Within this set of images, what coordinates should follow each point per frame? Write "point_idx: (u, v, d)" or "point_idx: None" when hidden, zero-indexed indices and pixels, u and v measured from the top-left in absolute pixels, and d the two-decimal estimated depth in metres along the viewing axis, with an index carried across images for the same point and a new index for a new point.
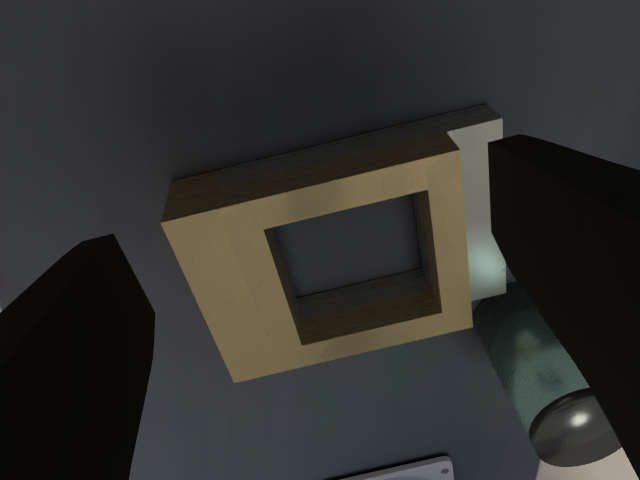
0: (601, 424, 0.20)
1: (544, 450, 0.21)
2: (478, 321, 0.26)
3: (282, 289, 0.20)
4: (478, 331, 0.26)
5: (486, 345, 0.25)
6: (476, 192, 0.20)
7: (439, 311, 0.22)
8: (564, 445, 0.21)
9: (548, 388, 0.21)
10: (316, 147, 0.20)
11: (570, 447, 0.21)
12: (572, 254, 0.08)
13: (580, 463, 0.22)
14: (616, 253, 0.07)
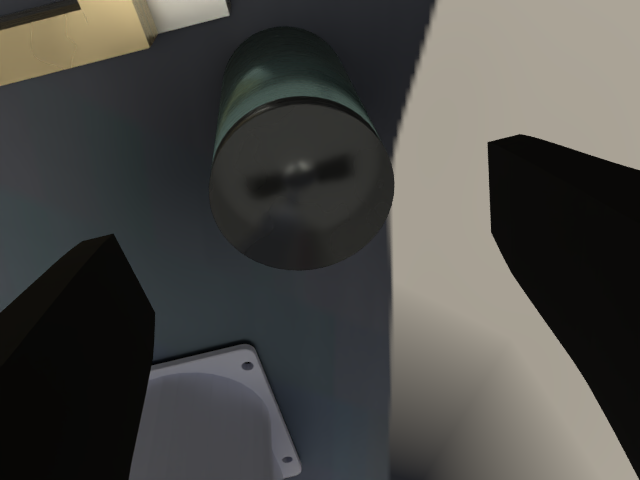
0: (321, 170, 0.11)
1: (234, 227, 0.12)
2: None
3: None
4: None
5: None
6: None
7: (79, 9, 0.13)
8: (269, 218, 0.12)
9: (235, 113, 0.12)
10: None
11: (282, 223, 0.12)
12: (572, 254, 0.08)
13: (315, 264, 0.13)
14: (616, 253, 0.07)
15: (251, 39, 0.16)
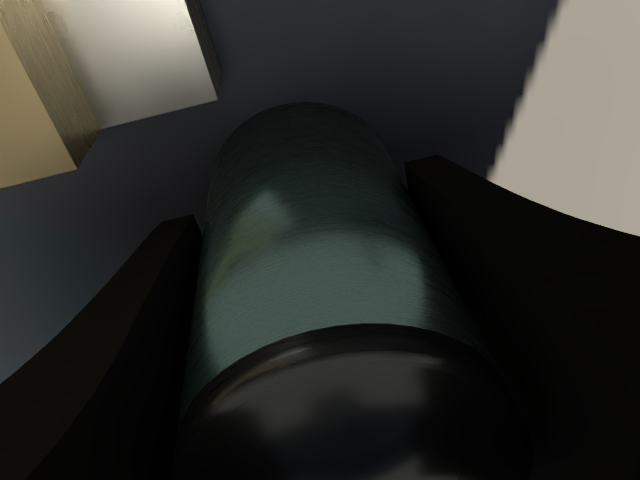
0: (395, 460, 0.06)
1: None
2: None
3: None
4: None
5: None
6: None
7: None
8: None
9: (223, 335, 0.06)
10: None
11: None
12: (467, 279, 0.08)
13: None
14: (492, 282, 0.07)
15: (253, 124, 0.10)
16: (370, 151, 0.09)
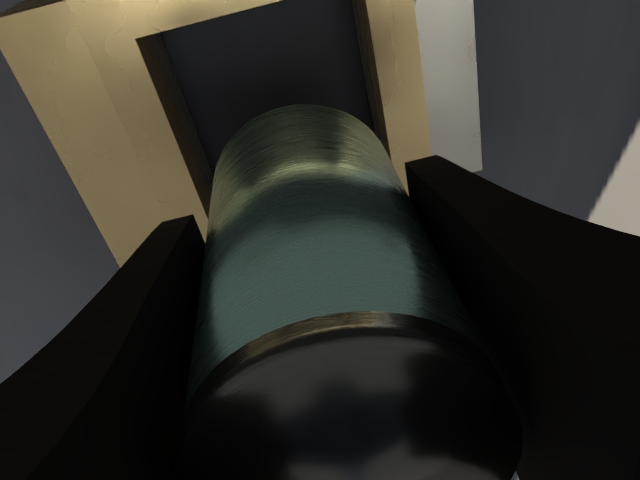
0: (385, 440, 0.06)
1: None
2: None
3: (174, 139, 0.15)
4: None
5: None
6: (436, 11, 0.15)
7: None
8: None
9: (216, 335, 0.06)
10: None
11: None
12: (467, 279, 0.08)
13: None
14: (492, 282, 0.07)
15: (246, 131, 0.11)
16: (358, 146, 0.10)
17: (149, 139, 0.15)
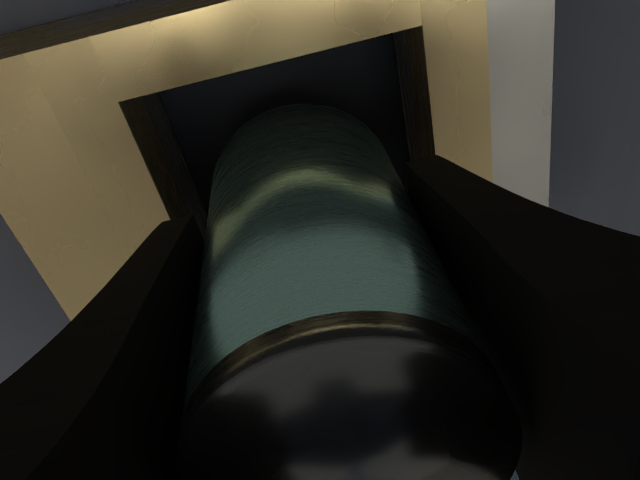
0: (384, 440, 0.06)
1: None
2: None
3: None
4: None
5: None
6: (506, 58, 0.12)
7: None
8: None
9: (214, 334, 0.06)
10: None
11: None
12: (466, 279, 0.08)
13: None
14: (492, 282, 0.07)
15: (245, 130, 0.11)
16: (357, 145, 0.10)
17: (138, 223, 0.12)
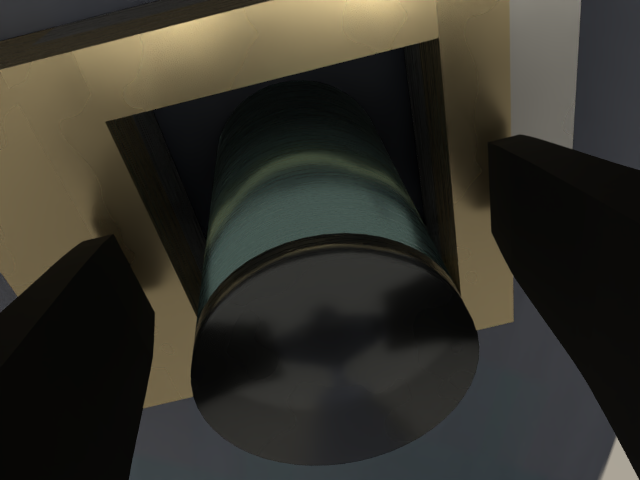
0: (362, 342, 0.07)
1: (238, 427, 0.08)
2: None
3: (164, 249, 0.11)
4: None
5: None
6: (526, 71, 0.11)
7: None
8: (288, 411, 0.08)
9: (222, 259, 0.08)
10: None
11: (311, 414, 0.08)
12: (572, 254, 0.08)
13: (364, 454, 0.09)
14: (616, 253, 0.07)
15: (247, 104, 0.12)
16: (346, 115, 0.11)
17: (128, 251, 0.11)
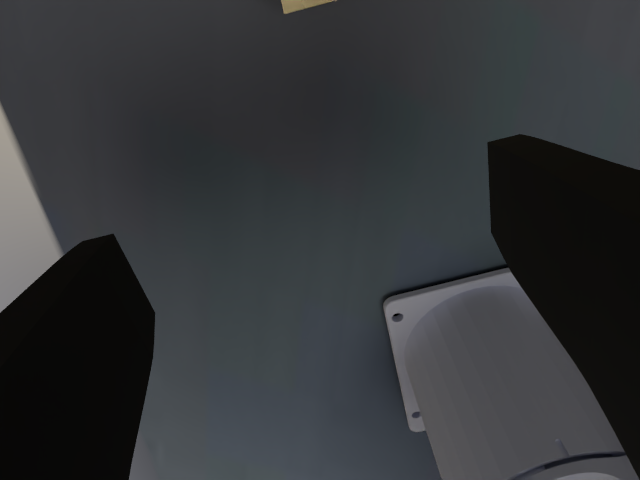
0: None
1: None
2: None
3: None
4: None
5: None
6: None
7: None
8: None
9: None
10: None
11: None
12: (572, 254, 0.08)
13: None
14: (616, 253, 0.07)
15: None
16: None
17: None
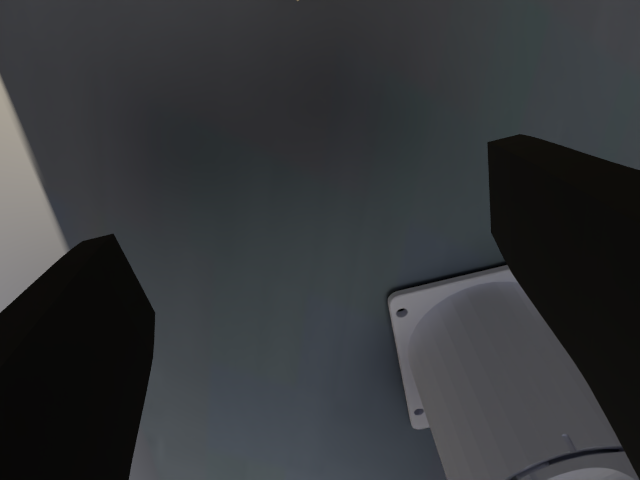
0: None
1: None
2: None
3: None
4: None
5: None
6: None
7: None
8: None
9: None
10: None
11: None
12: (572, 254, 0.08)
13: None
14: (616, 253, 0.07)
15: None
16: None
17: None
